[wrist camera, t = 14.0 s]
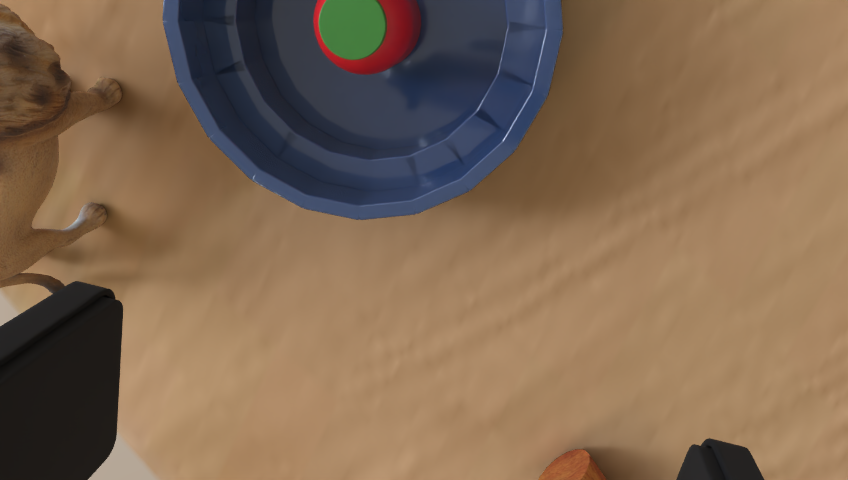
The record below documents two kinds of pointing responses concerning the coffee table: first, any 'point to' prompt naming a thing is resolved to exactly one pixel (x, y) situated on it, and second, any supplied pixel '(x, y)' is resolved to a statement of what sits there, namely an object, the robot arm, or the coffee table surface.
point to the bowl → (365, 99)
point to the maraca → (573, 467)
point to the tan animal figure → (37, 147)
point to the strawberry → (367, 32)
